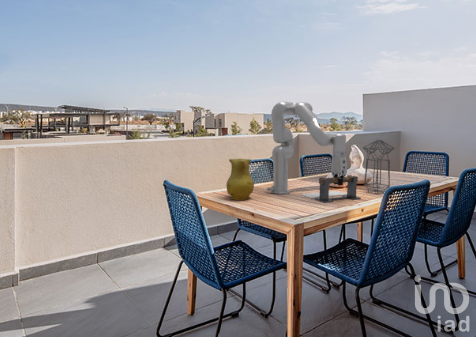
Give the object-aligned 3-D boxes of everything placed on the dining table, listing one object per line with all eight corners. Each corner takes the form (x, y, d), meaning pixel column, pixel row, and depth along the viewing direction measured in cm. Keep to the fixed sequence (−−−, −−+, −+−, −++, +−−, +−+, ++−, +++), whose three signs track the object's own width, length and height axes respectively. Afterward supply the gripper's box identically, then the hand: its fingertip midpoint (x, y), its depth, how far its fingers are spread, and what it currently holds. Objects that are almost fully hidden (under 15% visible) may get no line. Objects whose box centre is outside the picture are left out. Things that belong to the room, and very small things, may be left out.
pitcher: (221, 199, 217) (222, 158, 215) (232, 195, 235) (233, 157, 233) (248, 202, 212) (249, 160, 210) (257, 197, 229) (259, 158, 227)
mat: (310, 198, 220) (310, 197, 220) (300, 195, 231) (300, 194, 231) (348, 194, 230) (348, 194, 230) (337, 191, 241) (337, 190, 241)
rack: (324, 202, 208) (325, 179, 206) (315, 199, 217) (315, 177, 216) (360, 198, 217) (361, 176, 216) (350, 195, 227) (350, 174, 225)
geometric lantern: (359, 191, 241) (361, 139, 237) (378, 189, 246) (380, 138, 242) (375, 195, 227) (377, 140, 222) (395, 193, 231) (397, 139, 227)
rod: (323, 184, 210) (323, 178, 210) (319, 183, 214) (319, 177, 213) (356, 182, 219) (356, 176, 218) (352, 181, 222) (352, 175, 222)
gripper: (353, 155, 208) (352, 186, 210) (335, 153, 223) (335, 182, 225) (342, 156, 205) (341, 187, 207) (325, 153, 220) (324, 183, 223)
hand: (338, 184), depth 216 cm, fingers closed on rod, 3 cm apart
